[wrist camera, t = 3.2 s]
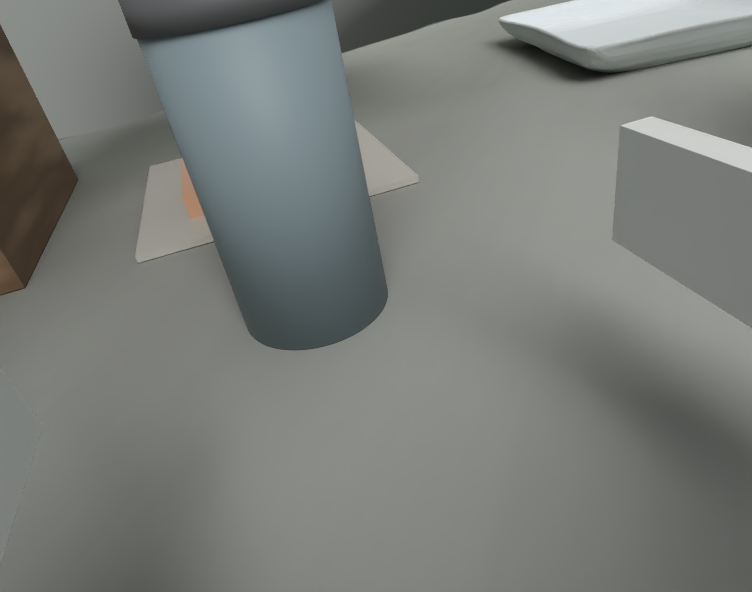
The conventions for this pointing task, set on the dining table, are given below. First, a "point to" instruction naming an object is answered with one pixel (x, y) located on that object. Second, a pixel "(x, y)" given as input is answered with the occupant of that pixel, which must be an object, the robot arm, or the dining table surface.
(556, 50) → the salad plate
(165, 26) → the canister
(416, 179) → the seat collar
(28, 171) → the shelf
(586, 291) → the dining table surface
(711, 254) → the robot arm
